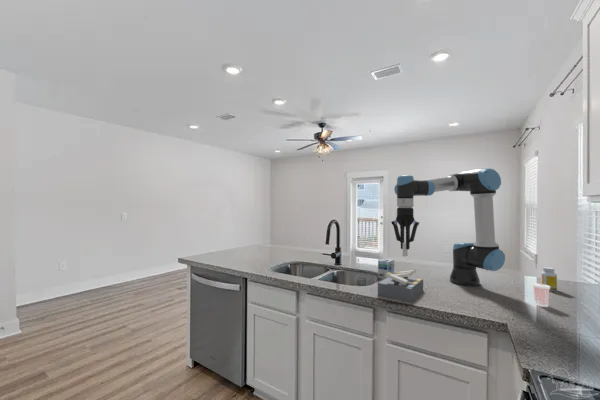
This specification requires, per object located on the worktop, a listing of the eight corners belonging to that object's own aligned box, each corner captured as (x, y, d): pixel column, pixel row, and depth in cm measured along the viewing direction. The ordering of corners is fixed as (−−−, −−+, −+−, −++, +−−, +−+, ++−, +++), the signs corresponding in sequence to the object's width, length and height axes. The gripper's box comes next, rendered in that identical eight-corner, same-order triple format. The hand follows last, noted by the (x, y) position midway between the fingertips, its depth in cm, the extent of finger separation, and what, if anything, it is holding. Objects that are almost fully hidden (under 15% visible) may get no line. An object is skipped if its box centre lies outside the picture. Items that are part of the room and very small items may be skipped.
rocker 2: (412, 274, 143) (411, 271, 143) (410, 276, 140) (409, 273, 140) (393, 277, 149) (392, 274, 149) (391, 278, 146) (390, 275, 146)
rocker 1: (407, 283, 137) (408, 280, 137) (405, 284, 134) (406, 281, 134) (387, 274, 143) (388, 271, 143) (385, 276, 140) (386, 273, 140)
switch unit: (423, 290, 148) (423, 276, 148) (411, 301, 131) (411, 286, 131) (392, 285, 158) (393, 272, 158) (377, 294, 140) (377, 280, 140)
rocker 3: (416, 272, 148) (415, 269, 149) (414, 273, 145) (413, 270, 146) (397, 274, 154) (397, 271, 154) (395, 275, 151) (394, 273, 152)
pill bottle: (560, 291, 148) (560, 269, 149) (547, 291, 149) (547, 269, 149) (549, 287, 155) (549, 266, 155) (537, 287, 155) (537, 266, 155)
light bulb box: (388, 280, 168) (388, 262, 168) (377, 278, 172) (377, 260, 172) (394, 276, 177) (394, 259, 177) (384, 274, 181) (384, 258, 181)
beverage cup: (538, 307, 125) (538, 275, 125) (529, 302, 131) (529, 272, 131) (554, 308, 124) (553, 276, 125) (544, 303, 130) (544, 272, 131)
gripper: (389, 207, 138) (389, 255, 138) (417, 207, 130) (417, 258, 130) (394, 207, 144) (394, 253, 144) (421, 207, 136) (421, 256, 136)
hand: (405, 255), depth 137 cm, fingers closed
